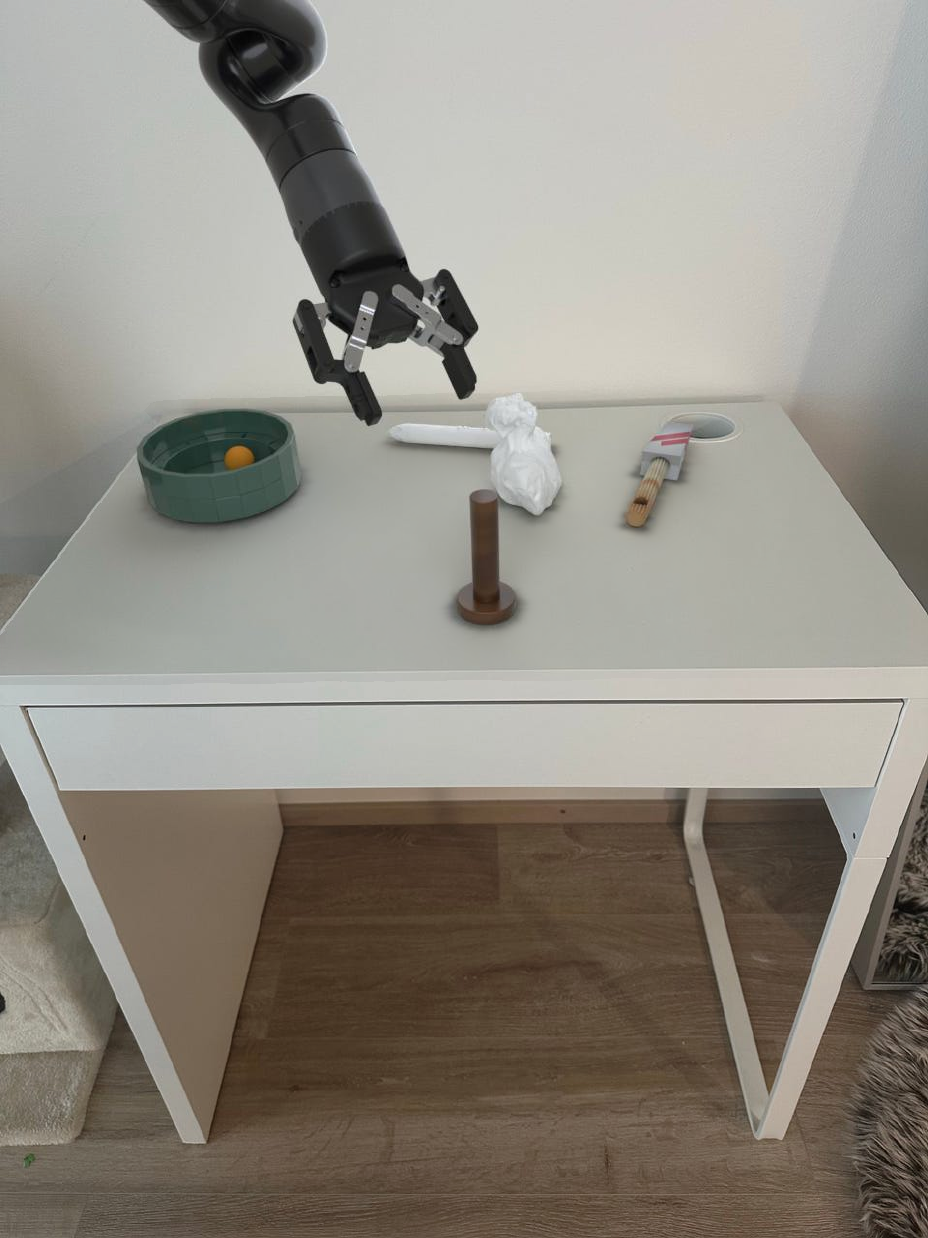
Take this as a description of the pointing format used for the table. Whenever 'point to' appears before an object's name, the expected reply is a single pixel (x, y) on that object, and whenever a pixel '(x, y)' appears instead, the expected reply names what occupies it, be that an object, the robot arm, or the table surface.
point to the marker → (448, 435)
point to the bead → (238, 458)
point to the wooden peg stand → (485, 566)
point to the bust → (521, 455)
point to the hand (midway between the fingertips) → (423, 407)
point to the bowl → (218, 465)
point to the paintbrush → (659, 467)
